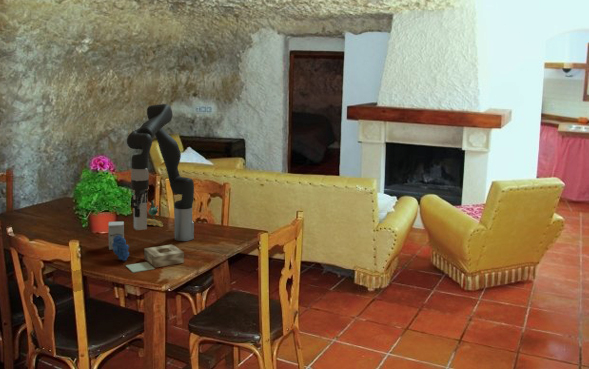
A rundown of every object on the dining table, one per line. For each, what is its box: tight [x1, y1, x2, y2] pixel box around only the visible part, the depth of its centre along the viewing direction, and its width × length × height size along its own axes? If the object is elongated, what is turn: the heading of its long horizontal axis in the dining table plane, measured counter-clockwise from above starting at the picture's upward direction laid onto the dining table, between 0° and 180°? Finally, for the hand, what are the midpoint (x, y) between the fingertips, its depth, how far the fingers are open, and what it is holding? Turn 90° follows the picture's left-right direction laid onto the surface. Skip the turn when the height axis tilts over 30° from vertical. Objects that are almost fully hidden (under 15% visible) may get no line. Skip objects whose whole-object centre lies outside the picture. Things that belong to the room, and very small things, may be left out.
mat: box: [125, 261, 156, 274], centre depth 266 cm, size 10×10×1 cm
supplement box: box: [107, 221, 125, 251], centre depth 293 cm, size 7×7×13 cm
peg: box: [133, 201, 148, 231], centre depth 262 cm, size 4×4×12 cm
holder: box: [143, 244, 185, 268], centre depth 276 cm, size 14×14×5 cm
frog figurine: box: [147, 200, 164, 227], centre depth 337 cm, size 10×18×15 cm, turn 55°
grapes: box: [112, 235, 130, 262], centre depth 274 cm, size 12×7×12 cm, turn 50°
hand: (140, 215), depth 262 cm, fingers closed on peg, 6 cm apart
